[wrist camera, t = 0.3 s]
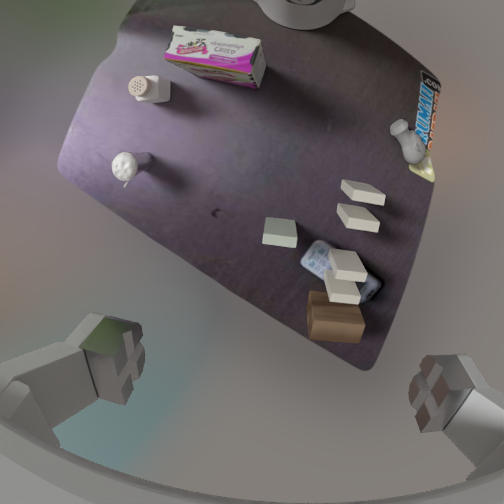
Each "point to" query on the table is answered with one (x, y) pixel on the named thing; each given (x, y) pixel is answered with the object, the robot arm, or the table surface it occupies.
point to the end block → (333, 319)
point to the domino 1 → (280, 232)
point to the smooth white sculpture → (408, 142)
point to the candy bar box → (217, 55)
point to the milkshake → (130, 165)
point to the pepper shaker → (150, 89)
